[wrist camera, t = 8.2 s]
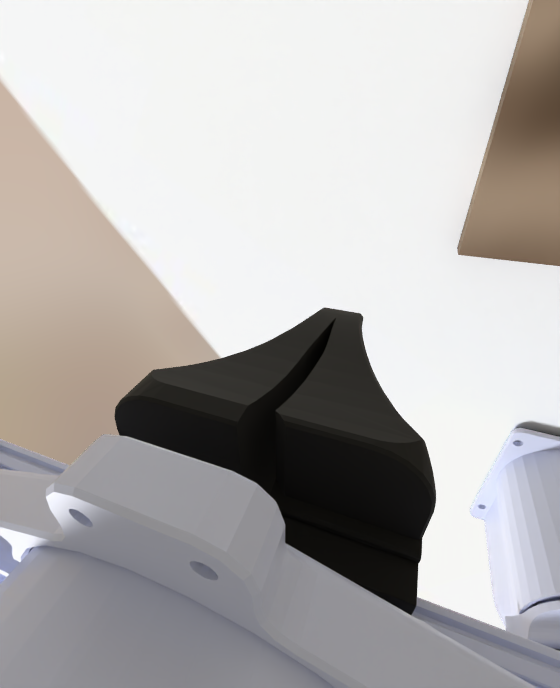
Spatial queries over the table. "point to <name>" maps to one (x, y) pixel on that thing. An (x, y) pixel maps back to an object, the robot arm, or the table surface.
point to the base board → (522, 153)
